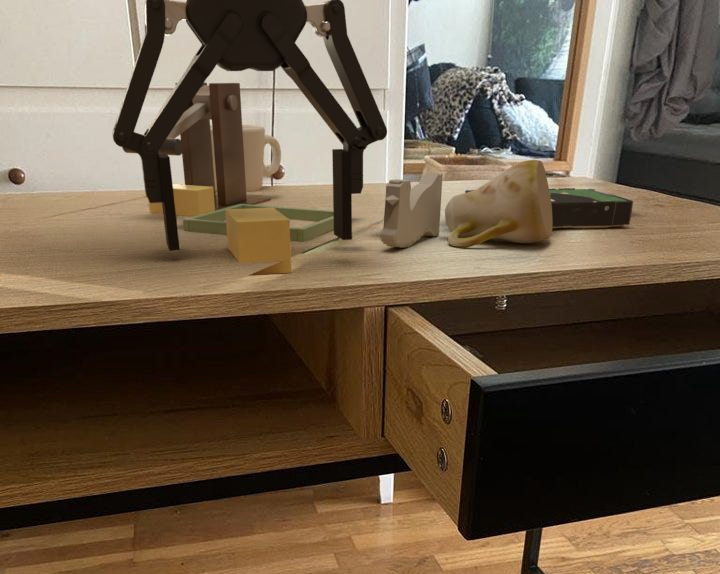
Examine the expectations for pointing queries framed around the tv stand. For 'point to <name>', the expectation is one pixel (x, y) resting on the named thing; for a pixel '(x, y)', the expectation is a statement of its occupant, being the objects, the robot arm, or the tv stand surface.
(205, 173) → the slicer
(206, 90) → the lever
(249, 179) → the cup
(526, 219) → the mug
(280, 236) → the butter pat
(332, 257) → the tv stand surface
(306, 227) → the dish
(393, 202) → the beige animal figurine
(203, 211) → the butter block
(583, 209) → the disk drive
